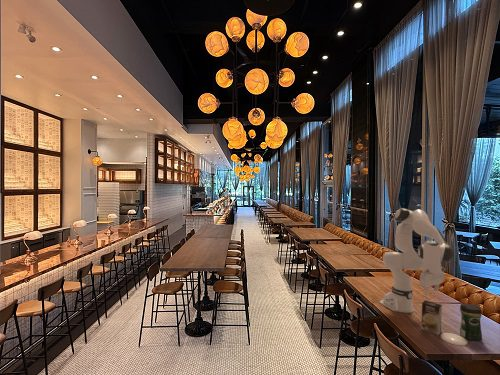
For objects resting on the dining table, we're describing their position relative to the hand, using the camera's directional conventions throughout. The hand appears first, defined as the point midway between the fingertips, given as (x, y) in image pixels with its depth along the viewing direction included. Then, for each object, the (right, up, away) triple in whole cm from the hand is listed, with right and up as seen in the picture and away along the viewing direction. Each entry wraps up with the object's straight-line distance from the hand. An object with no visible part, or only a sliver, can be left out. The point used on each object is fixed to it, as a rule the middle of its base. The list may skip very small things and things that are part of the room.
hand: (431, 292), depth 170 cm
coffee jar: (+18, -23, -7) cm, 30 cm away
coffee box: (0, -23, 0) cm, 23 cm away
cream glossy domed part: (+6, -23, -10) cm, 26 cm away
